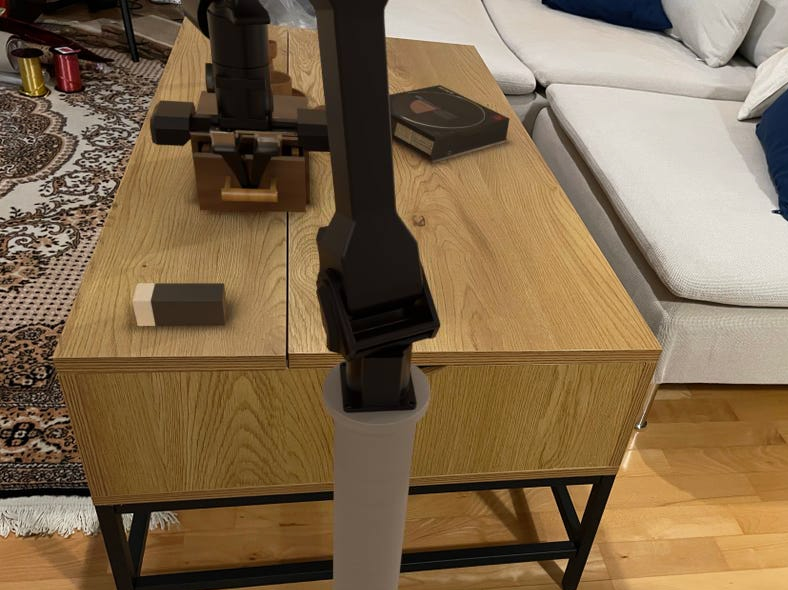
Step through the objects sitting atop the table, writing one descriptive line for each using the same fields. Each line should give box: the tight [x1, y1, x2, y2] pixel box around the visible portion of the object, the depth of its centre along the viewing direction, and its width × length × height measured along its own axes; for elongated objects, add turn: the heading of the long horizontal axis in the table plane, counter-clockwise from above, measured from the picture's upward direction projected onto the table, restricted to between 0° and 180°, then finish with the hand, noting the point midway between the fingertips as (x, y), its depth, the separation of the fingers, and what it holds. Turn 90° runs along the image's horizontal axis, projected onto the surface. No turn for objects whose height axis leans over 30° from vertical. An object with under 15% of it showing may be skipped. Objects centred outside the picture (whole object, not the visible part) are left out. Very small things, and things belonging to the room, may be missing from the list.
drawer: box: [192, 142, 307, 213], centre depth 87 cm, size 18×12×7 cm
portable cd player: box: [389, 84, 510, 164], centre depth 113 cm, size 16×17×4 cm
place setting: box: [269, 39, 326, 110], centre depth 115 cm, size 18×20×6 cm
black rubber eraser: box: [132, 282, 228, 327], centre depth 69 cm, size 3×8×3 cm, turn 102°
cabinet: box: [189, 90, 311, 205], centre depth 92 cm, size 15×14×9 cm
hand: (251, 197), depth 82 cm, fingers closed, pressing on drawer
